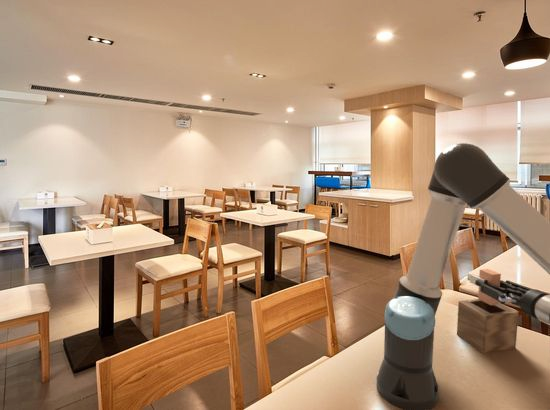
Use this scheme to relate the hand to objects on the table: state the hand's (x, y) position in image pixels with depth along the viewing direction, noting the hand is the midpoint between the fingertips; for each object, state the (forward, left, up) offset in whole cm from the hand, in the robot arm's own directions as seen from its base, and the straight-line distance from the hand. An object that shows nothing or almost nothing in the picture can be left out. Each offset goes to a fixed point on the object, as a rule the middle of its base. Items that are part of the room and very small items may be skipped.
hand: (475, 277), depth 111 cm
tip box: (0, -5, -20) cm, 20 cm away
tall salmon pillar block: (0, -6, -6) cm, 8 cm away
